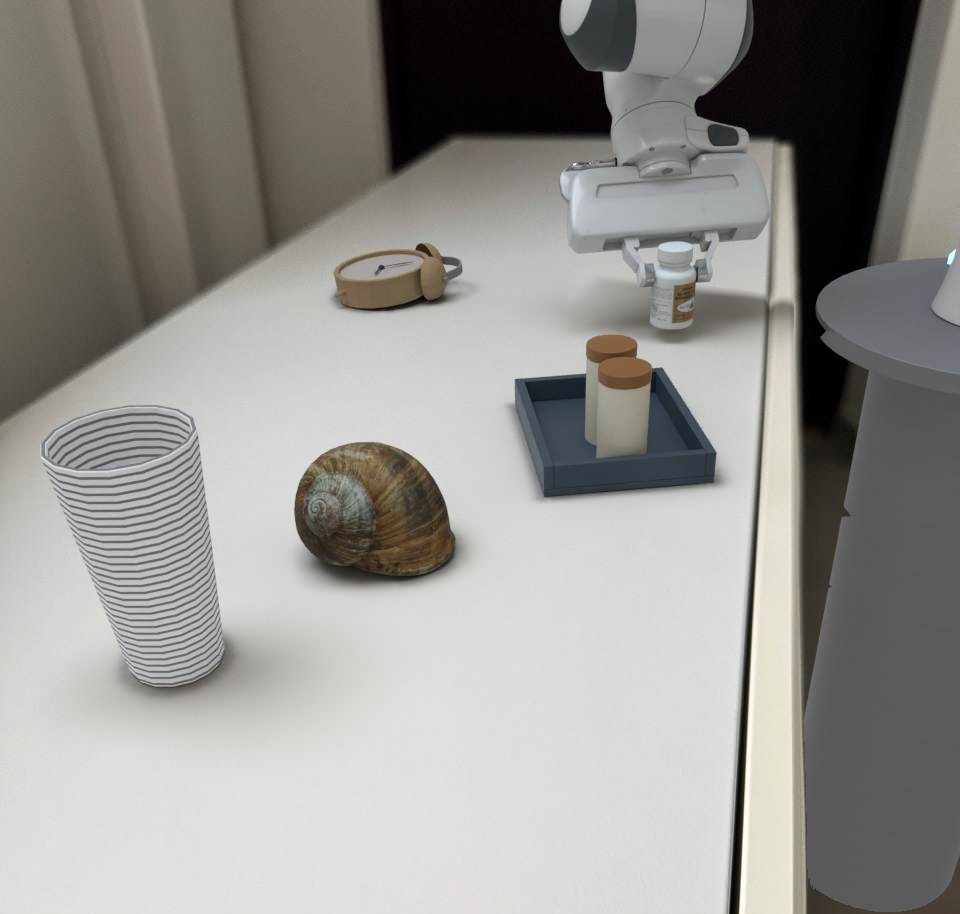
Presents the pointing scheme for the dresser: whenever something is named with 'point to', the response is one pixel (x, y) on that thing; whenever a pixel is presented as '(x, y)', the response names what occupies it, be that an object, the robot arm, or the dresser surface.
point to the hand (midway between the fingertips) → (675, 282)
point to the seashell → (373, 511)
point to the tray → (572, 460)
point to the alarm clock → (394, 276)
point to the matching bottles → (616, 396)
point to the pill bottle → (673, 287)
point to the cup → (143, 534)
